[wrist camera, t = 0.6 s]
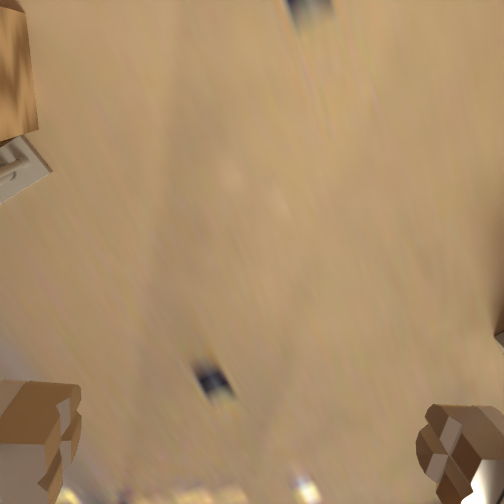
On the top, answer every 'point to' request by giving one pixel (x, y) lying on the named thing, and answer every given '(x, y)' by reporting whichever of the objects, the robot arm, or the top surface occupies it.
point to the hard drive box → (500, 340)
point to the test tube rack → (19, 167)
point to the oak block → (15, 77)
